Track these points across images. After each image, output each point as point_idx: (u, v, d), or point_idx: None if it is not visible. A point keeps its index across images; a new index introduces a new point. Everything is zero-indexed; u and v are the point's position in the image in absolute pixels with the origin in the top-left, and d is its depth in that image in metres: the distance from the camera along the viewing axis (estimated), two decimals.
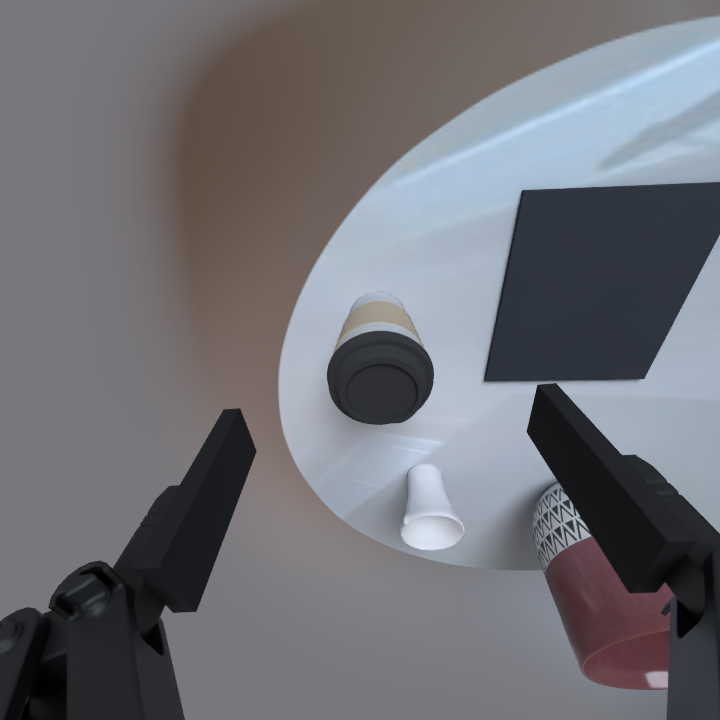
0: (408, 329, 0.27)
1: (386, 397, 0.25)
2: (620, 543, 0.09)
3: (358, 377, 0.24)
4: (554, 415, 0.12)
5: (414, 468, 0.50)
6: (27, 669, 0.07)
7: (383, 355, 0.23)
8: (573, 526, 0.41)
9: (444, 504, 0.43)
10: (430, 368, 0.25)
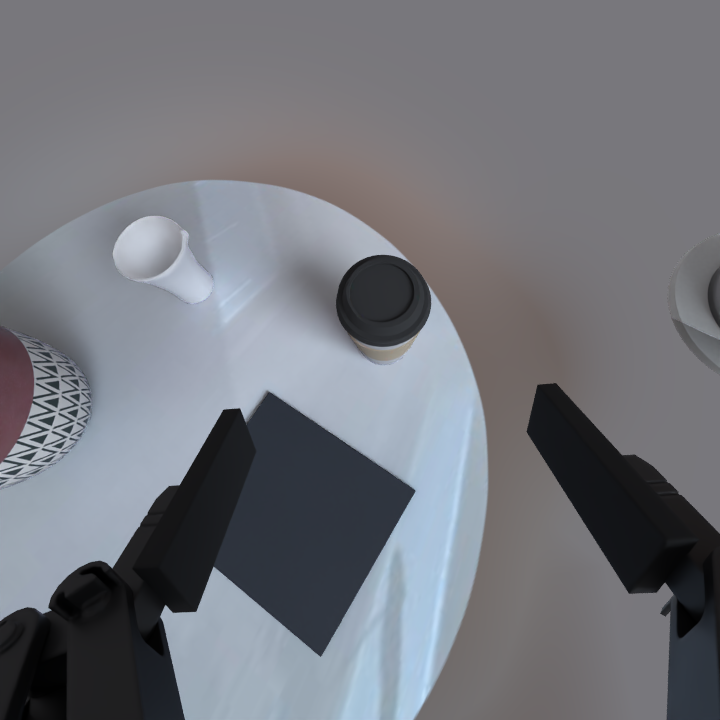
0: (398, 348, 0.31)
1: (374, 294, 0.28)
2: (620, 543, 0.09)
3: (406, 285, 0.28)
4: (554, 415, 0.12)
5: (212, 282, 0.45)
6: (27, 669, 0.07)
7: (414, 312, 0.27)
8: (52, 386, 0.33)
9: (170, 280, 0.38)
10: (374, 340, 0.28)
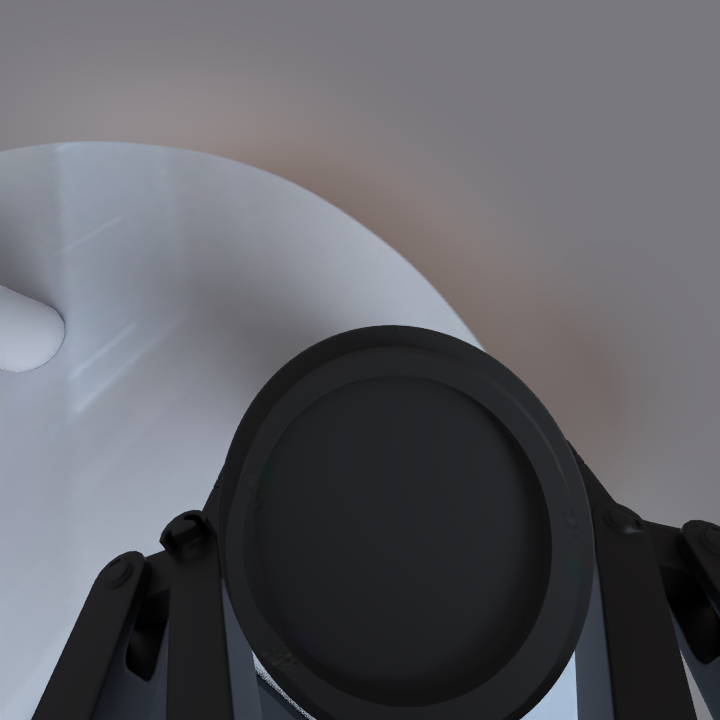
0: None
1: (360, 519, 0.06)
2: None
3: (502, 481, 0.06)
4: None
5: (58, 331, 0.23)
6: (133, 608, 0.08)
7: (558, 648, 0.06)
8: None
9: None
10: None
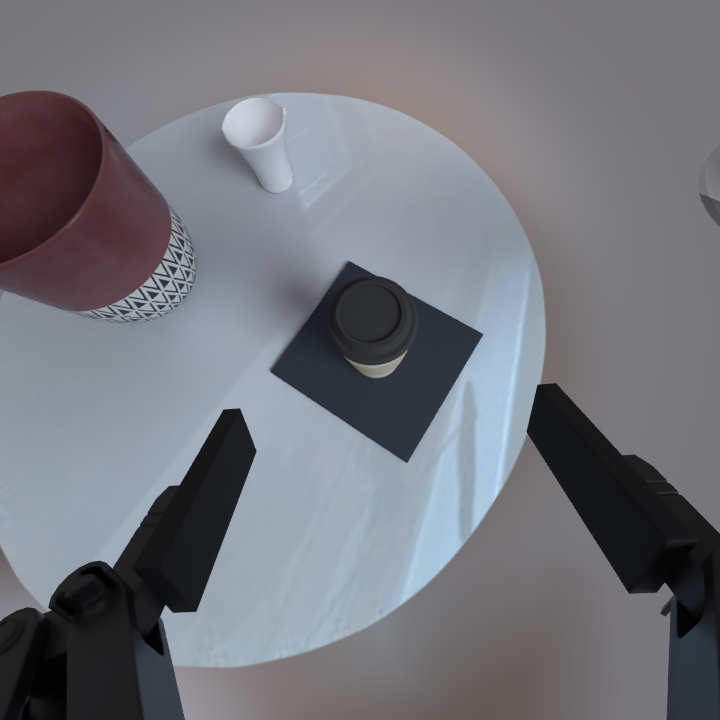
0: (387, 365, 0.32)
1: (363, 314, 0.29)
2: (620, 543, 0.09)
3: (393, 306, 0.29)
4: (554, 415, 0.12)
5: (292, 174, 0.51)
6: (27, 669, 0.07)
7: (401, 333, 0.28)
8: (180, 228, 0.39)
9: (269, 155, 0.44)
10: (363, 359, 0.29)
